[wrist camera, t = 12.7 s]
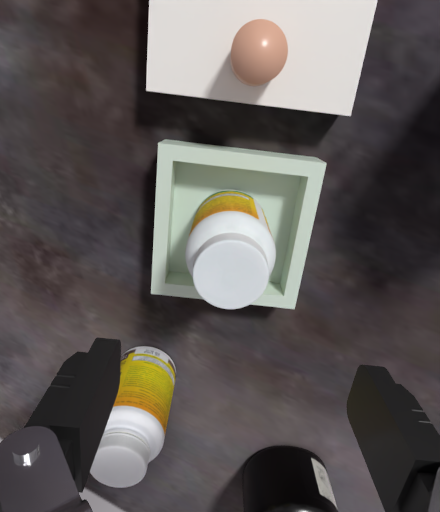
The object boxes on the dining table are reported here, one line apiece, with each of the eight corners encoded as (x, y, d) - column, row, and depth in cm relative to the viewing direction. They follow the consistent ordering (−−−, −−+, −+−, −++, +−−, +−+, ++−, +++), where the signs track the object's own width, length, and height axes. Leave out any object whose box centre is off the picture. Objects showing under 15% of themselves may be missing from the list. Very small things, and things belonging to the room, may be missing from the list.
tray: (157, 276, 31) (150, 293, 28) (165, 139, 26) (158, 143, 24) (288, 290, 31) (294, 309, 28) (316, 157, 27) (326, 163, 24)
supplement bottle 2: (279, 225, 28) (304, 281, 19) (226, 268, 29) (227, 339, 20) (232, 171, 26) (236, 205, 18) (179, 219, 28) (157, 273, 19)
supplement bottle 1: (126, 334, 33) (86, 427, 23) (185, 354, 33) (169, 451, 24) (110, 381, 35) (67, 484, 25) (166, 398, 35) (144, 504, 26)
